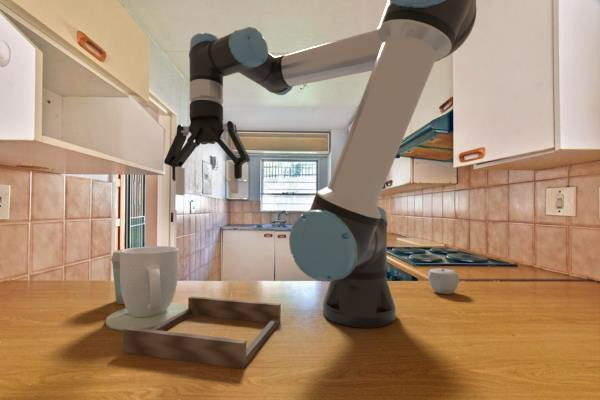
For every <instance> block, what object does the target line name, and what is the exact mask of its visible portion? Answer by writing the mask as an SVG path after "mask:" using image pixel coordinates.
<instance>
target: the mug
mask: <svg viewBox="0 0 600 400" xmlns="http://www.w3.org/2000/svg"><path fill="white" fill-rule="evenodd" d="M121 250H122V251H121V252H120V288H121V293H122V297H123V301H124V304H123V305H124V308H127V310H128V312H129V313H130V314H131V315H132V316H134V317H151V316H156V315H159V314H162V313H164V312H165V311H166V310H167V309H168V307H169V306H170V304H171V302H173V299H174V296H175V293H176V290H177V285H178V280H179V265H180V264H179V262H180V261H179V260H180V259H179V248H178V247H176V246H175V247H174V246H167V245H165V246H164V245H163V246H161V245H157V246H156V245H154V246H153V245H151V246H150V245H149V246H139V247H130V248H129V247H128V248H125V249H124V250H123V249H121Z"/></svg>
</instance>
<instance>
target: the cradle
mask: <svg viewBox="0 0 600 400" xmlns="http://www.w3.org/2000/svg"><path fill="white" fill-rule="evenodd" d="M187 299H188V301H187V303H188V304H187V305H188V306H187V307H188V309H187V310H185V311H183V312H181V313H179V314H177V315H176V316H174V317H172V318H170V319H168V320H167V321H165V322H163V323H161V324H159V325H157V326H156V327H154V328H152V329H143V328H135V327H127V328H125V329H123V331H122V332H123V333H122V334H123V336H122V337H123V338H122V352H123V353H125V354H127V353H128V354H133V355H141V356H147V357H154V358H162V359H168V360H170V359H171V360H178V361H183V362H191V363H197V364H206V365H212V366H217V367H218V366H220V367H227V368H234V369H241V370H244V369H245V367H246V366H248V364H249V362H250V361H251V360H252V359H253V357H254V356H255V354H257V352H258V351H259V350H260V348H261V347H262V346H263V344H265V342H266V341H267V339H268V338H269V337H270V336H271V335H272V333H273V332H274V330H275V329H276V328H277V327H278V326H279V324H280V323H281V314H282V313H281V311H282V310H281V306H282V305H281V303H277V302H276V303H274V302H265V301H264V302H262V301H253V300H239V299H229V298H228V299H227V298H214V297H207V296H206V297H205V296H202V297H201V296H193V295H190V296H189V297H188V298H187ZM191 316H201V317H211V318H219V319H229V320H230V319H231V320H240V321H248V322H249V321H251V322H260V323H267V324H266V325H265V326H264V328H263V329H262V330H261V331H260V332H259V334H258V335H256V336H255V338H254V339H253V340H252V341H251V342H250V343H249V345H247V340H245V339H238V338H229V337H219V336H210V335H203V334H194V333H186V332H177V331H176V332H175V331H168V330H169V329H171V328H172V326H173V327H174V326H176V325H177V323H178V324H179V323H181V322H182V320H183V321H185V320H186V319H188V318H190V317H191ZM187 317H188V318H187ZM180 321H181V322H180ZM170 327H171V328H170ZM167 329H168V330H167ZM165 330H166V331H165Z"/></svg>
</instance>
